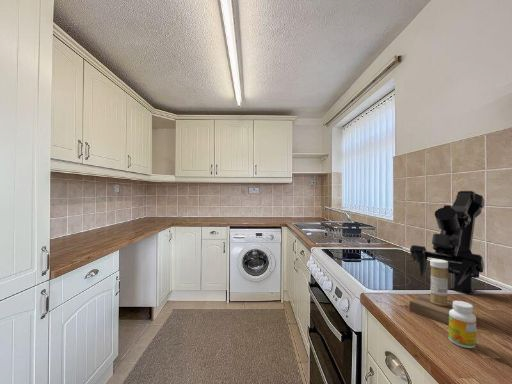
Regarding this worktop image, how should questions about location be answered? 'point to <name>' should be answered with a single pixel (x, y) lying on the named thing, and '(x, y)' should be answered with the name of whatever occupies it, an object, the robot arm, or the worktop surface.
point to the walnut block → (431, 309)
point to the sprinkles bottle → (439, 282)
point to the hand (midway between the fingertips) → (438, 280)
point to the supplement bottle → (462, 325)
